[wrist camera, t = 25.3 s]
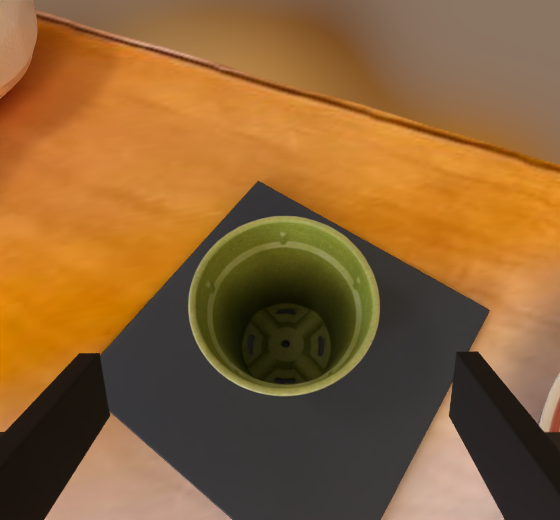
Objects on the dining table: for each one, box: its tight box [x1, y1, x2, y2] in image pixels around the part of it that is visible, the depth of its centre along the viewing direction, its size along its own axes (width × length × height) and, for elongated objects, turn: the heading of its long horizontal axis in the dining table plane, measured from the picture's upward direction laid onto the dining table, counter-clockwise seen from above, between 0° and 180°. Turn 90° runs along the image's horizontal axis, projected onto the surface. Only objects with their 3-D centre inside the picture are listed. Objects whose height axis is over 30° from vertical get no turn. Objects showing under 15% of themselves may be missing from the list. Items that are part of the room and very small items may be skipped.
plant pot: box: [188, 216, 380, 396], centre depth 25 cm, size 9×9×9 cm
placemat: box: [100, 181, 490, 520], centre depth 29 cm, size 20×20×1 cm
